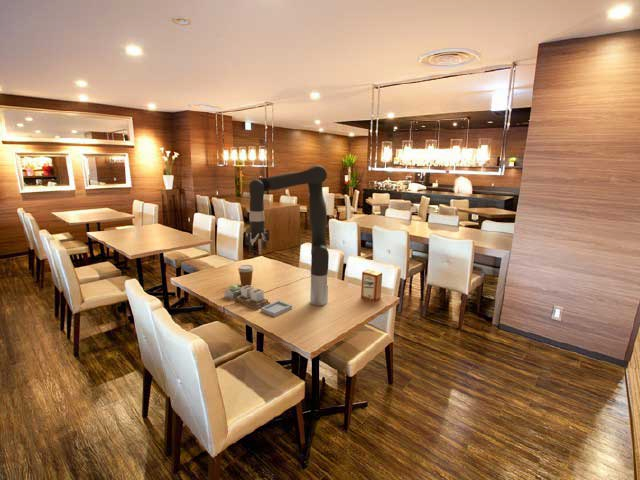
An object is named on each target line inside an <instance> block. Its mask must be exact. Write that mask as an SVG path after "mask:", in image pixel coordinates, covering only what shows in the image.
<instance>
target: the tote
mask: <svg viewBox="0 0 640 480" xmlns="http://www.w3.org/2000/svg"><path fill="white" fill-rule="evenodd" d="M292 309H293V305H292V304H290V303H287V302H284V301H281V300H276V301H274V302H270V304H269V305H266V306H264V307H262V308H260V312H261V313H264V314H267V315H269V316H271V317H274V318H275V317H278V316H279V315H281V314H283V313H286V312H288V311H291V310H292Z"/></svg>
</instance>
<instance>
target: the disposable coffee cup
mask: <svg viewBox="0 0 640 480" xmlns="http://www.w3.org/2000/svg"><path fill="white" fill-rule="evenodd" d="M237 270H238V273H239V280H240V285H241V287H244V286H247V285H249V286H252V282H253V281H252V280H253V272H254V267H253V265H252V264H251V265H250V264H242V265H240V266H238V269H237Z"/></svg>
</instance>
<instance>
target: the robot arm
mask: <svg viewBox="0 0 640 480" xmlns="http://www.w3.org/2000/svg"><path fill="white" fill-rule="evenodd" d="M327 177H328V171H327V170H326V168H325V167H323V166H322V165H312V166H310V167H309V168H308V169H306V170H302V171H299V172H293V173H292V172H291V173H283V174H278V175H272V176H269V177H263V178H255V179H252V180H251V181H250V182H249V183H248V188H249V199H250V200H249V214H248V215H249V229H250V232H247V231H246V232H245V233H244V234H245V235H244V243H245V245H248V252H249V253H254V243H255V242H256V241H257V240H261V248H262V250H266V249H267V242H268V241H270V230H269V229H267V228H266V227H265V226H266V223H265V222H266V221H265V216H266V215H265V202H264V198H265V195H264V194H265V192H269V191H278V190H283V189H287V188H292V187H295V186H299V185H307V186H308V210H309V211H308V215H309V216H308V217H309V224H310V233H311V248H310V255H311V259H310V261H311V263H310V264H311V266H310V297H309V298H310V300H309V301H310V304H311V305H313V306H316V307H317V306H318V307H319V306H325V305H327V304H328V303H327V302H328V299H329V297H328V296H329V293H328V292H329V285H328V276H329V275H328V272H329V271H328V270H329V262H330V261H329V260H330V259H329V258H330V257H329V255H330V253H329V251H328V248H327V241H326V231H327V221H328V219H327V218H328V217H327V205H326V201H325V198H324V194H323V193H324V192H323V183H324V182H325V181H326V179H327Z"/></svg>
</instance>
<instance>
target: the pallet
mask: <svg viewBox="0 0 640 480" xmlns="http://www.w3.org/2000/svg"><path fill="white" fill-rule="evenodd" d="M234 302H236V303H239V304H241V305H243V306H246V307H248V308H250V309H253V310H255V311H258V310H261V308H262V307H264V306H266V305H269V304H271V301H269V299H266V298H264V301H262V302H260V303H257V304H256V303H253V302H251V298H250V299H248V300H246V299H243V298H241V295H240V296H238V297H237V299H235V300H234Z"/></svg>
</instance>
